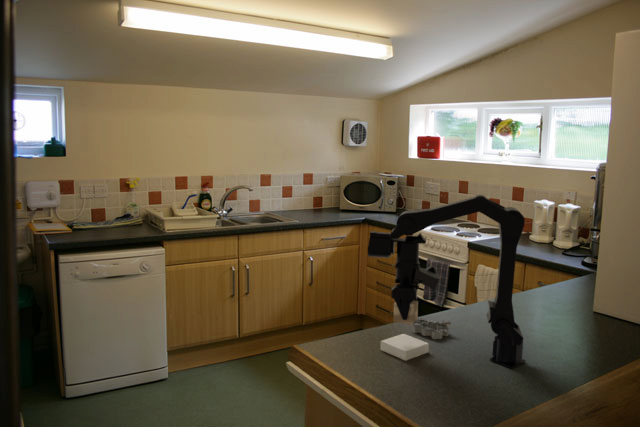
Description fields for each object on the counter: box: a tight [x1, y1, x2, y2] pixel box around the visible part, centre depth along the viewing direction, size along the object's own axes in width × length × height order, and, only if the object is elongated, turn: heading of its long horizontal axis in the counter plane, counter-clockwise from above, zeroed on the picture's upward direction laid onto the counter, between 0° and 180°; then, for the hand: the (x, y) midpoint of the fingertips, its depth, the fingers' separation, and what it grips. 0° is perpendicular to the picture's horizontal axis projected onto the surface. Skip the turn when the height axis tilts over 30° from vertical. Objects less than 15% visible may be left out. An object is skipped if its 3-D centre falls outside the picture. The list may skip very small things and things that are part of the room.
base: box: [380, 333, 429, 361], centre depth 144 cm, size 9×9×2 cm
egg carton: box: [411, 317, 451, 340], centre depth 158 cm, size 11×8×4 cm
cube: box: [393, 300, 419, 326], centre depth 142 cm, size 5×5×5 cm
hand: (405, 316), depth 143 cm, fingers closed on cube, 6 cm apart
